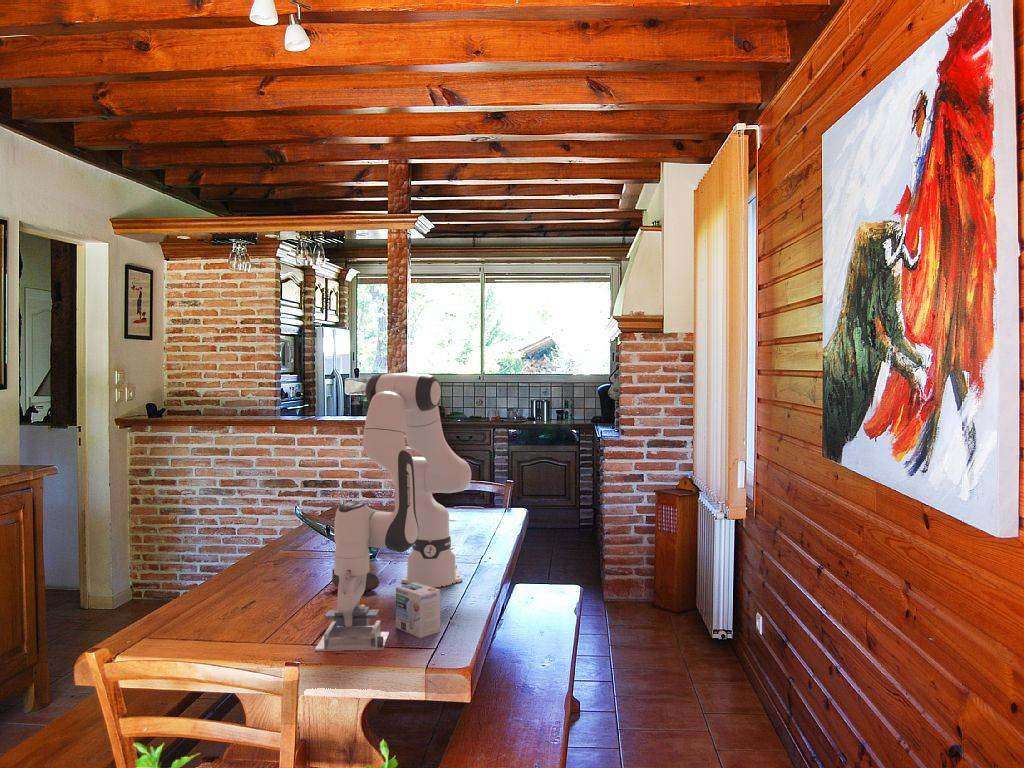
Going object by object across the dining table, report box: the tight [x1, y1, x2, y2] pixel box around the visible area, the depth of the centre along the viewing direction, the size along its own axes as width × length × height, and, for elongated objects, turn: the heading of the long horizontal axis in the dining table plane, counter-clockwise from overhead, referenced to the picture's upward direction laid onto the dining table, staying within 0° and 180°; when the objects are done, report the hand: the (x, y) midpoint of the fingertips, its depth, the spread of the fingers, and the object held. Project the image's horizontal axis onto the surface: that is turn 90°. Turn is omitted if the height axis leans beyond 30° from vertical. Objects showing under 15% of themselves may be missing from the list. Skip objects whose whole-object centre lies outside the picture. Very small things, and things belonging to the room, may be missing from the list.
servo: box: [324, 604, 380, 626], centre depth 195 cm, size 4×13×6 cm, turn 91°
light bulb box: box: [395, 582, 441, 639], centre depth 193 cm, size 11×7×11 cm, turn 45°
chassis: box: [314, 620, 390, 652], centre depth 185 cm, size 11×16×4 cm
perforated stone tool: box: [331, 568, 380, 592], centre depth 228 cm, size 15×5×7 cm, turn 70°
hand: (351, 620), depth 194 cm, fingers open, 7 cm apart
